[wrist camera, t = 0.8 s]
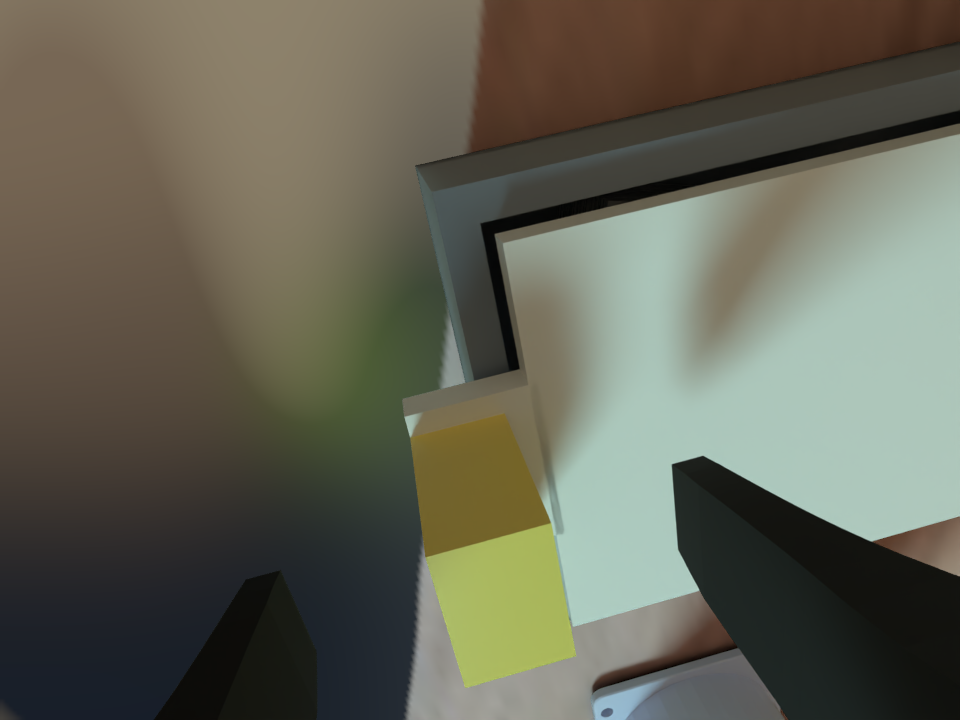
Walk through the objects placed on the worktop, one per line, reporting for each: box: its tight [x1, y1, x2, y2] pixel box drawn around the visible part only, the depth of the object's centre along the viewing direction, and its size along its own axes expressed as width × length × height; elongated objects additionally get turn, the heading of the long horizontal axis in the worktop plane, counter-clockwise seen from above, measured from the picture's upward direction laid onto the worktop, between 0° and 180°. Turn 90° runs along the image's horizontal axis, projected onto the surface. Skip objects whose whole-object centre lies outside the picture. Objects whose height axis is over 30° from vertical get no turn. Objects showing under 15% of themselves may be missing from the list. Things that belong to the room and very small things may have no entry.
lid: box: [402, 124, 960, 688], centre depth 13 cm, size 10×17×4 cm, turn 101°
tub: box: [415, 42, 960, 620], centre depth 17 cm, size 12×16×4 cm
